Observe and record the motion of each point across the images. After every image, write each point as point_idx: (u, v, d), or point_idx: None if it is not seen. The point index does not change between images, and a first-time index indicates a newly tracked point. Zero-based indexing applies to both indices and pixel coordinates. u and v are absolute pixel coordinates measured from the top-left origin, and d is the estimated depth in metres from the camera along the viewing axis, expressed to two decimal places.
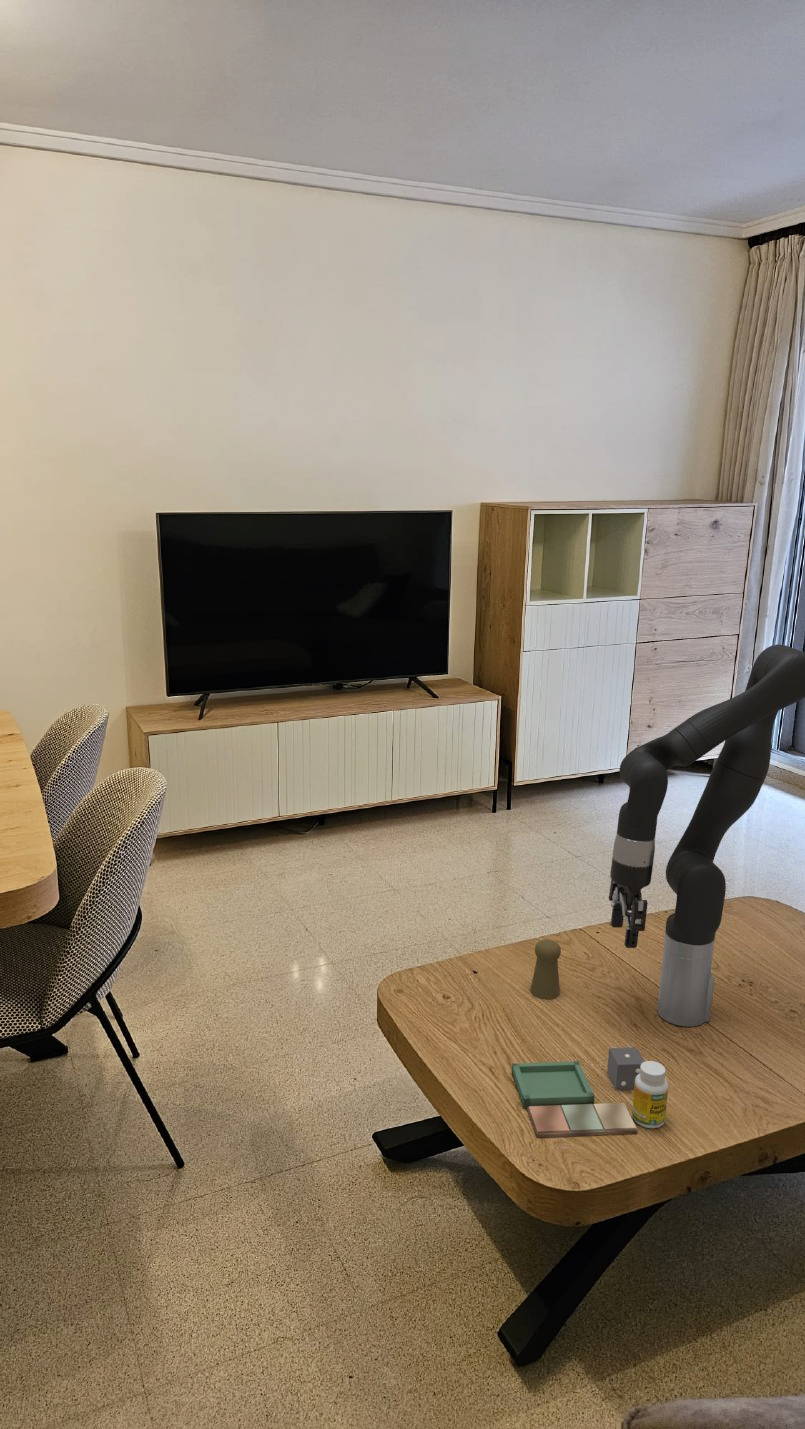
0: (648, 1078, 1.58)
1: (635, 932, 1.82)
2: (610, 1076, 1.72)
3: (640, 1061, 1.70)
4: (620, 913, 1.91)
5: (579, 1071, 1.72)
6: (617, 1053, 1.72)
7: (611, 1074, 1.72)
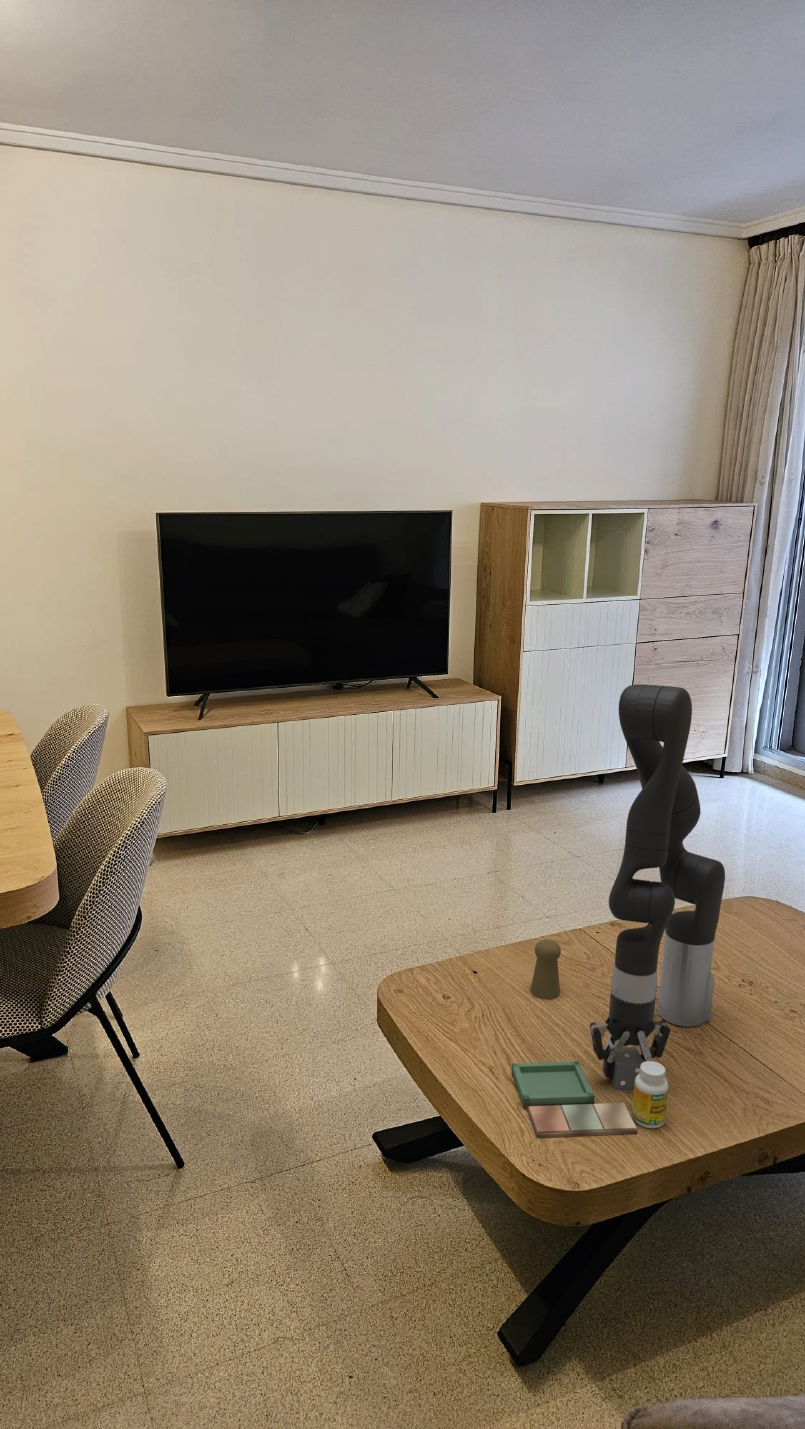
0: (648, 1078, 1.58)
1: None
2: None
3: (639, 1061, 1.70)
4: None
5: (579, 1071, 1.72)
6: None
7: None
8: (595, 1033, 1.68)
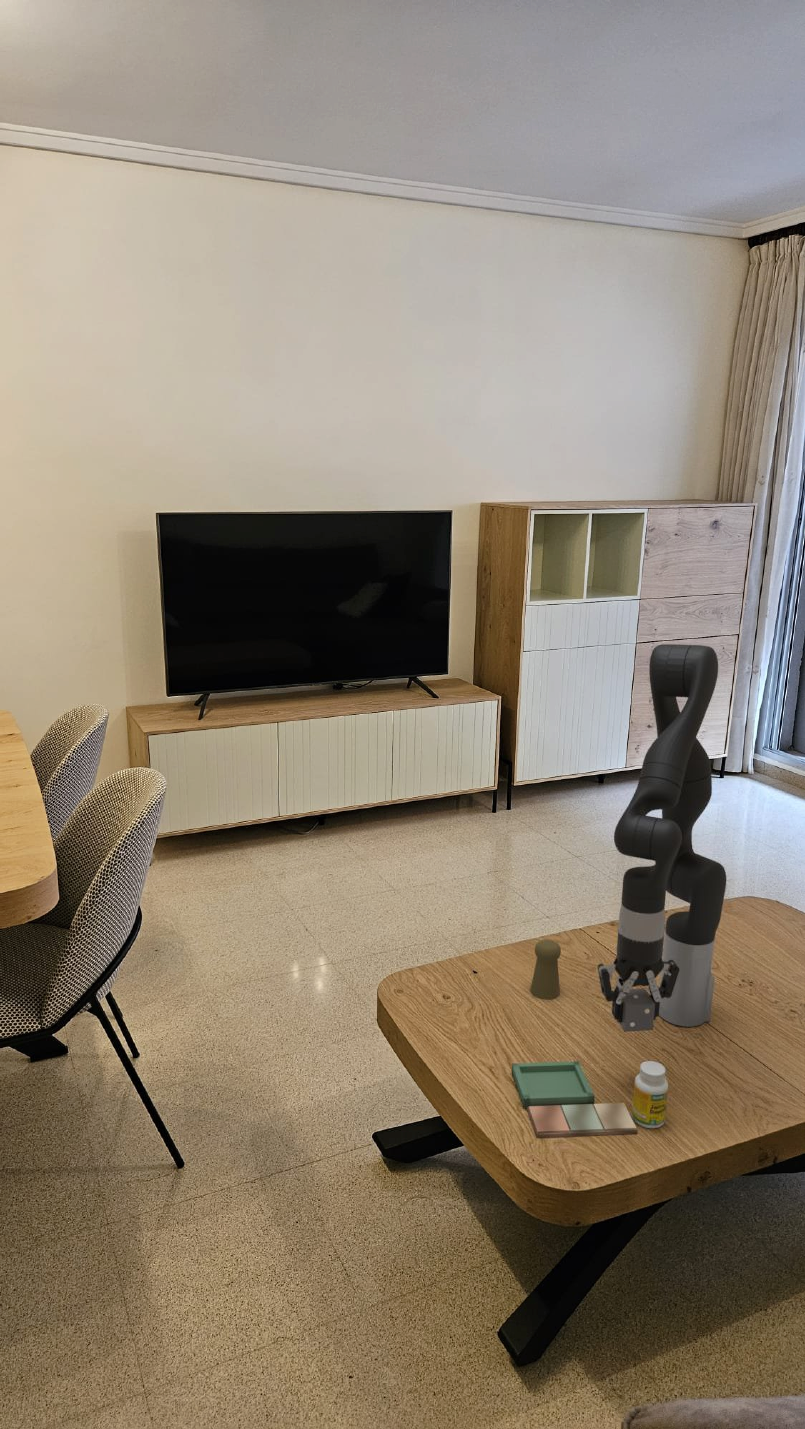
0: (648, 1078, 1.58)
1: None
2: None
3: (649, 1001, 1.67)
4: None
5: (579, 1071, 1.72)
6: None
7: None
8: (603, 974, 1.65)
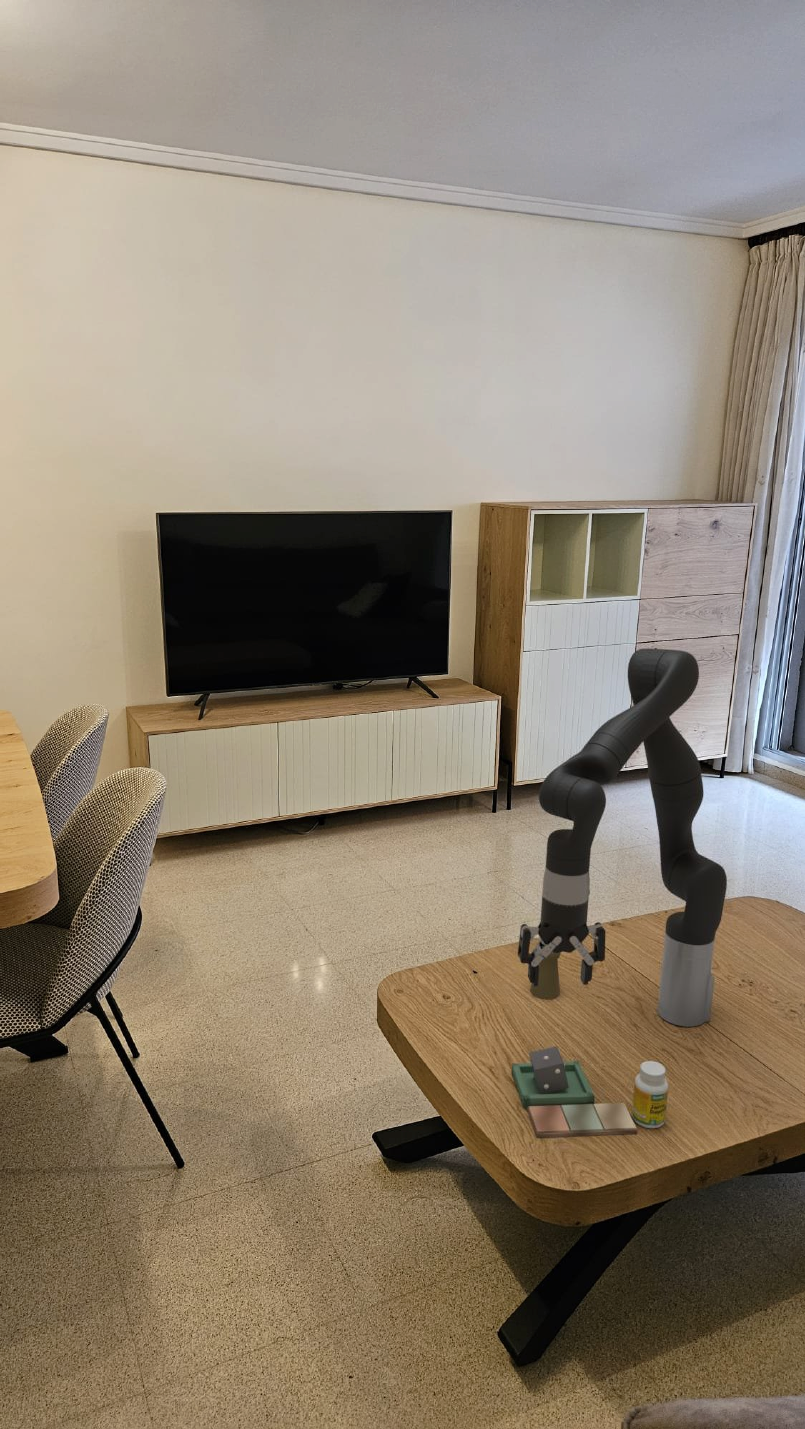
0: (648, 1078, 1.58)
1: None
2: (535, 1080, 1.70)
3: (558, 1061, 1.66)
4: None
5: (579, 1071, 1.72)
6: (536, 1056, 1.69)
7: (535, 1079, 1.69)
8: (525, 933, 1.60)
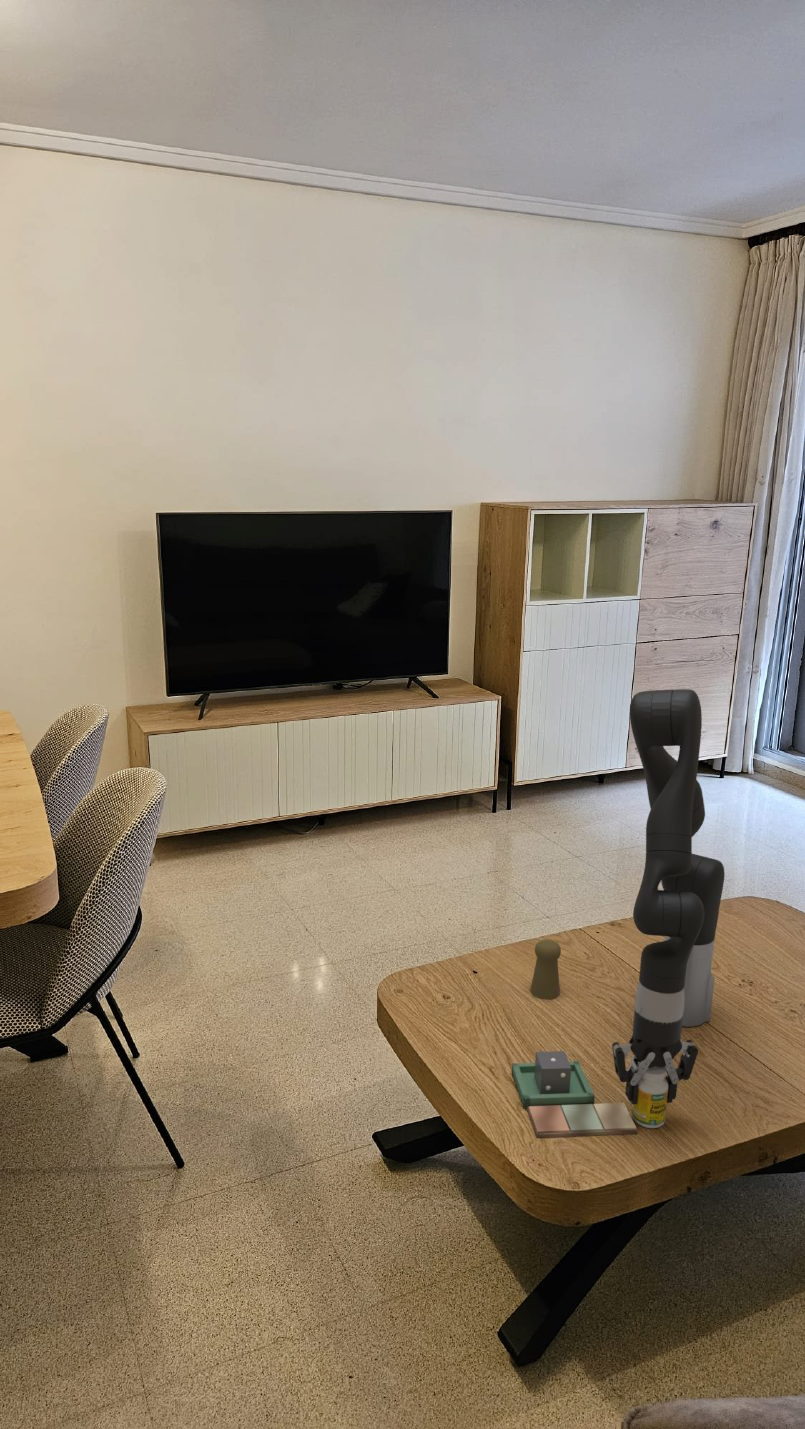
0: (648, 1078, 1.58)
1: None
2: (536, 1080, 1.70)
3: (565, 1065, 1.67)
4: None
5: (579, 1071, 1.72)
6: (543, 1056, 1.69)
7: (537, 1078, 1.69)
8: (618, 1054, 1.57)
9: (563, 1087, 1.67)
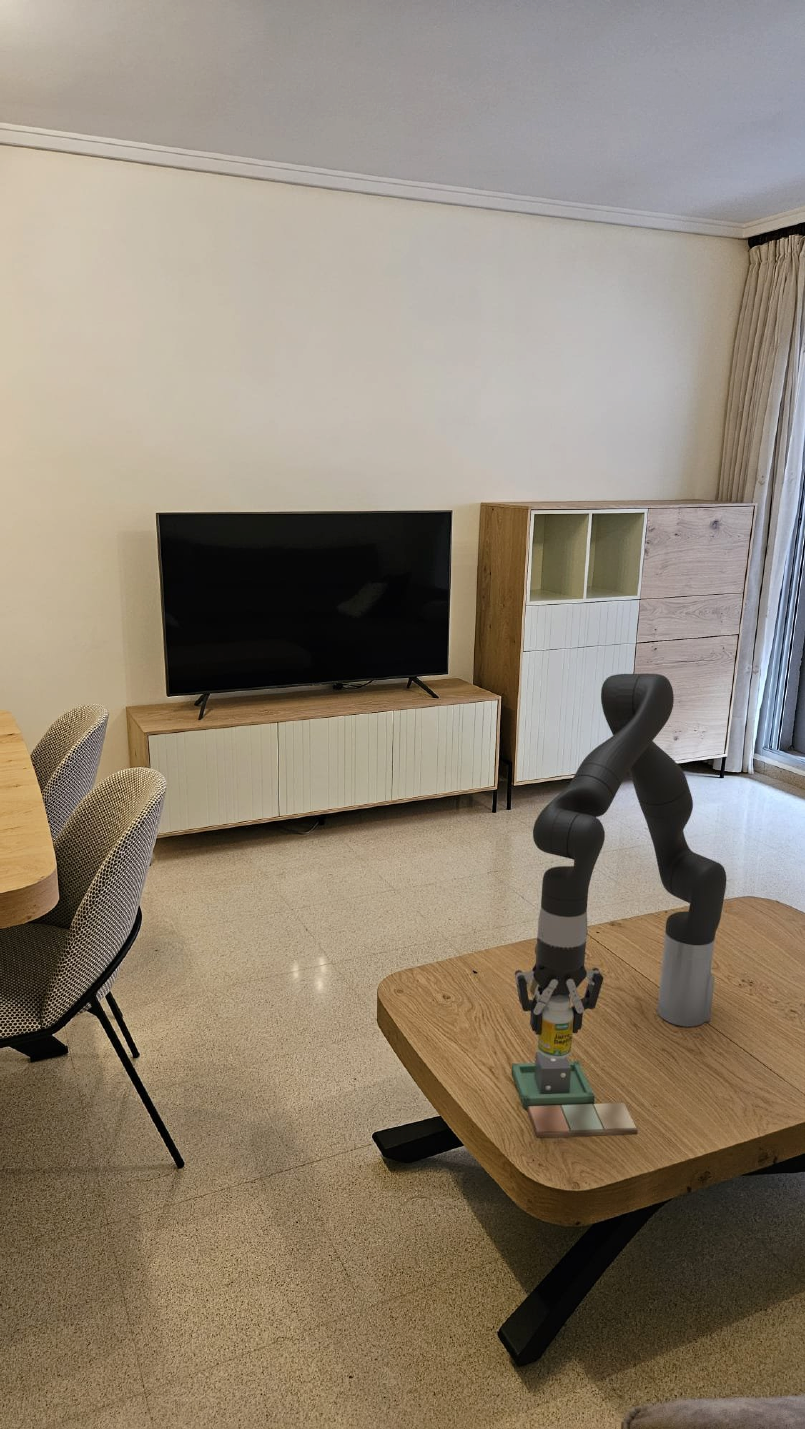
0: (552, 1007, 1.54)
1: None
2: (536, 1080, 1.70)
3: (565, 1065, 1.67)
4: None
5: (579, 1071, 1.72)
6: (543, 1056, 1.69)
7: (537, 1078, 1.69)
8: (520, 981, 1.52)
9: (563, 1087, 1.67)
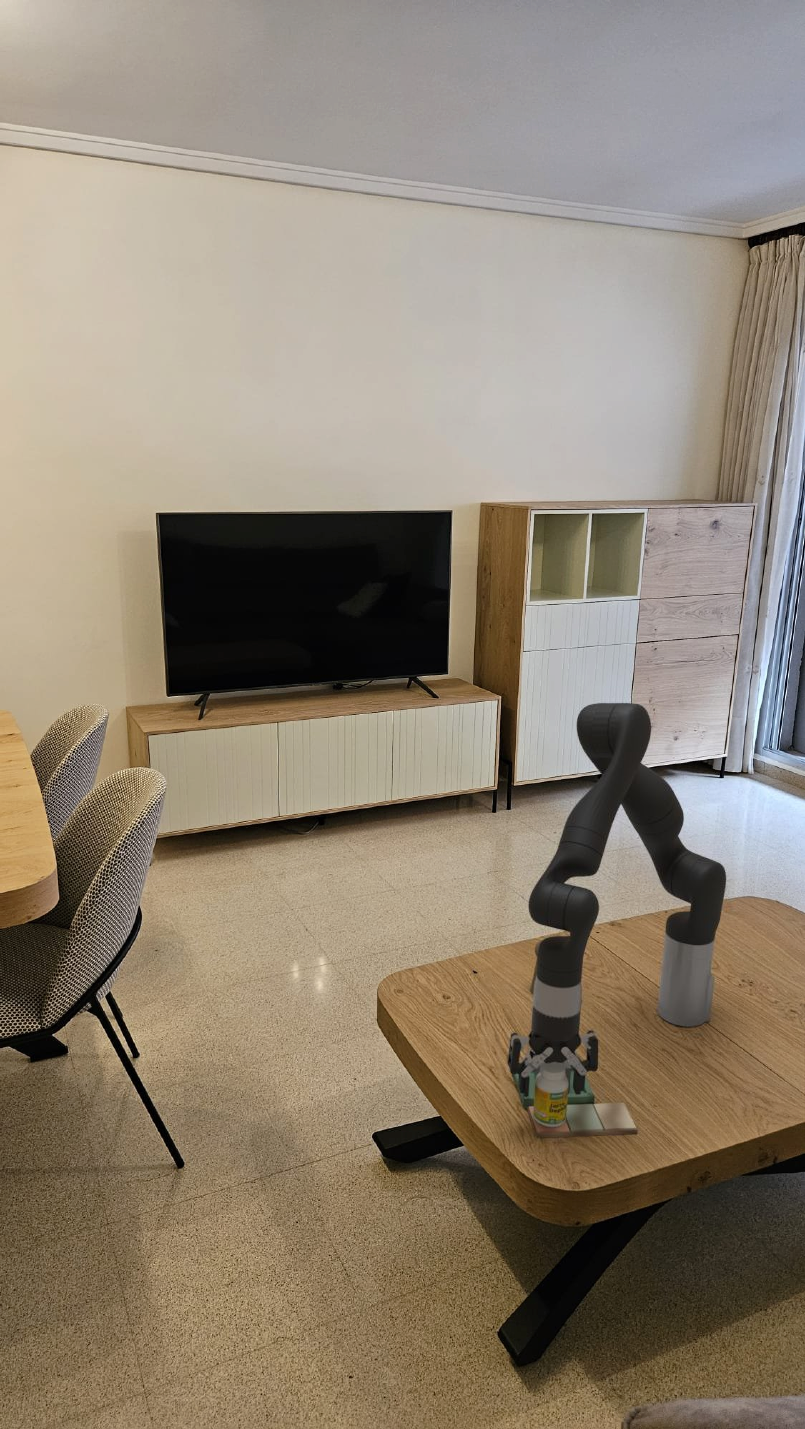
0: (547, 1076, 1.57)
1: None
2: None
3: (565, 1065, 1.67)
4: None
5: None
6: None
7: None
8: (515, 1044, 1.55)
9: None
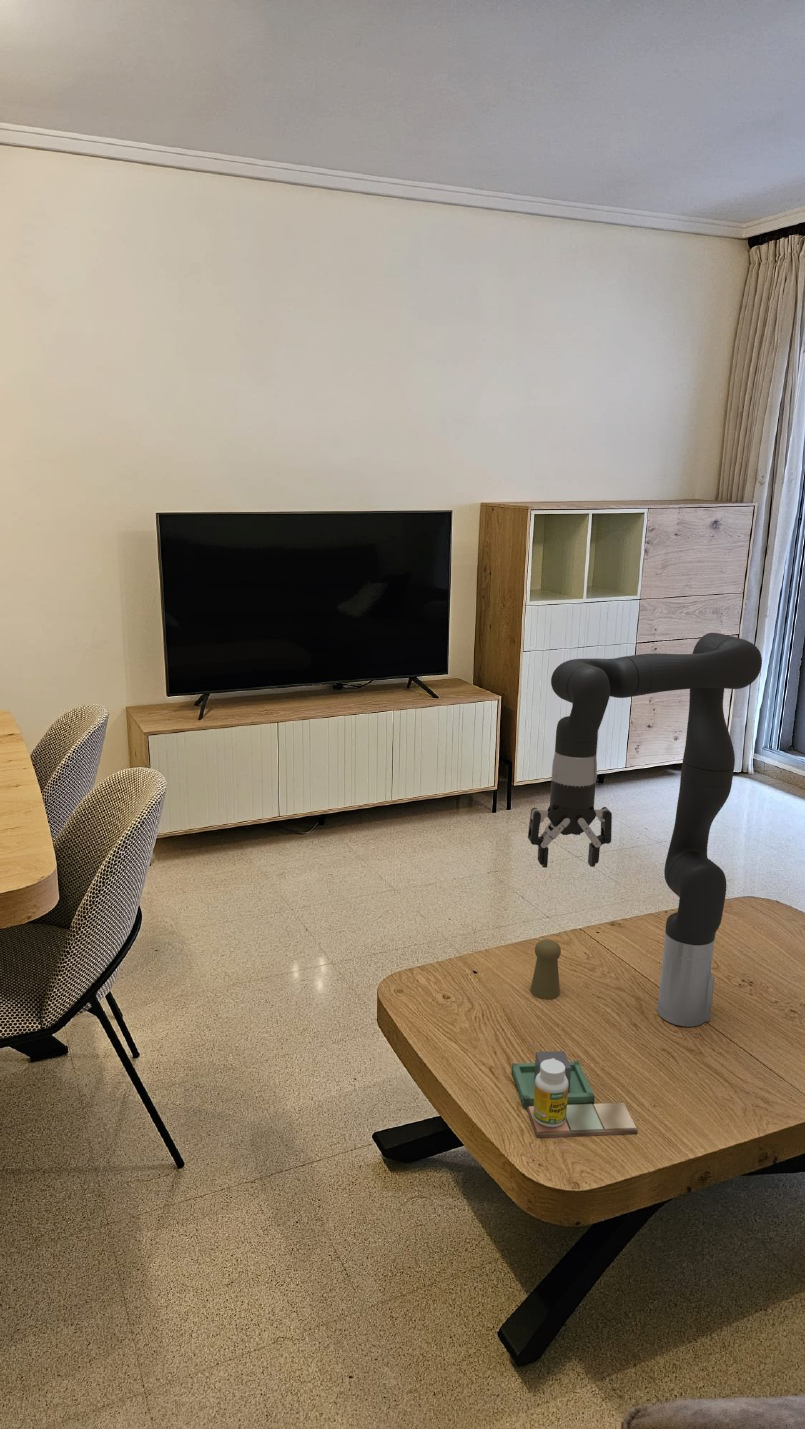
0: (547, 1076, 1.57)
1: None
2: None
3: (565, 1065, 1.67)
4: None
5: (579, 1071, 1.72)
6: (543, 1056, 1.69)
7: None
8: (535, 815, 1.68)
9: None
